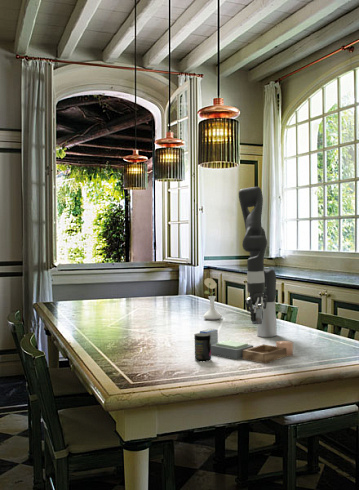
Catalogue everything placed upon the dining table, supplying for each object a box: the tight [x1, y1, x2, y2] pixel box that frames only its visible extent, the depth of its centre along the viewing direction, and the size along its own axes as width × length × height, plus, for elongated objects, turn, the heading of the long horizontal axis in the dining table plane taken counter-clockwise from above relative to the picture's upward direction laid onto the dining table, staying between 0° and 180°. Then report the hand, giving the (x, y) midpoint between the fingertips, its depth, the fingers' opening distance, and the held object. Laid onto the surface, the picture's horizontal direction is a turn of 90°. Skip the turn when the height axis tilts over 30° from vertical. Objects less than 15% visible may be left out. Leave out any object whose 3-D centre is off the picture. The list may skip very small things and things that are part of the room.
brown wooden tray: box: [242, 343, 287, 364], centre depth 208 cm, size 11×15×4 cm
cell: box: [251, 307, 262, 325], centre depth 221 cm, size 4×4×7 cm
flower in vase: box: [202, 277, 223, 321], centre depth 307 cm, size 13×11×25 cm
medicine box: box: [199, 328, 219, 345], centre depth 226 cm, size 8×4×9 cm, turn 141°
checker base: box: [211, 344, 254, 360], centre depth 216 cm, size 11×14×4 cm
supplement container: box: [194, 332, 212, 363], centre depth 207 cm, size 7×7×10 cm
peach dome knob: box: [275, 340, 294, 357], centre depth 213 cm, size 7×7×5 cm
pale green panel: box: [216, 339, 249, 349], centre depth 215 cm, size 8×11×1 cm
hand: (256, 320), depth 221 cm, fingers closed on cell, 4 cm apart
